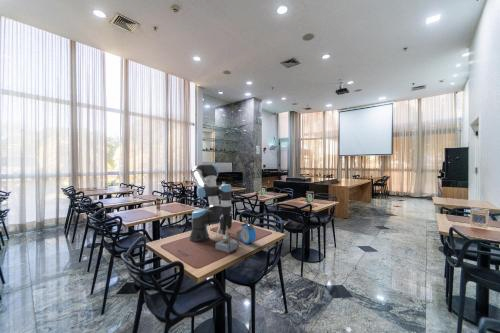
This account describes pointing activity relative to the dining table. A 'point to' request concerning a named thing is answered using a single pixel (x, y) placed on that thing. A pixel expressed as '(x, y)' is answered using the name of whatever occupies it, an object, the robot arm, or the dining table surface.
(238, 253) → the dining table surface
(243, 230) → the alarm clock
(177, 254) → the dining table surface
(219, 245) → the socket station
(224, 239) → the peg
